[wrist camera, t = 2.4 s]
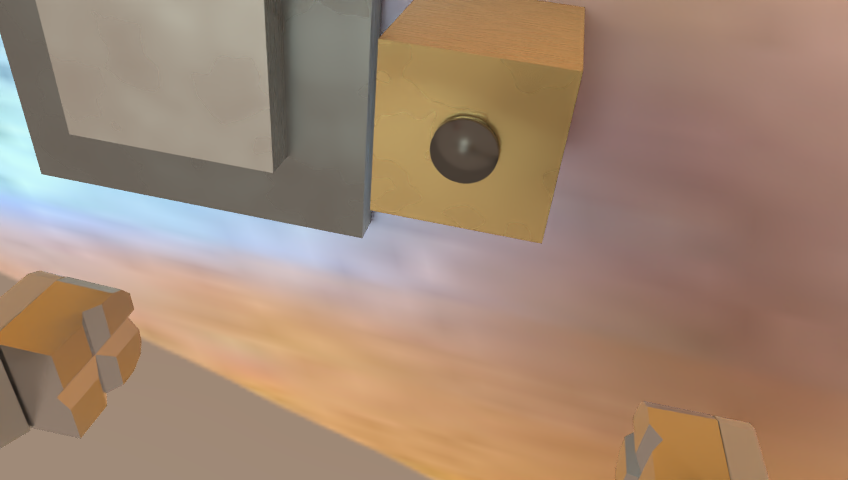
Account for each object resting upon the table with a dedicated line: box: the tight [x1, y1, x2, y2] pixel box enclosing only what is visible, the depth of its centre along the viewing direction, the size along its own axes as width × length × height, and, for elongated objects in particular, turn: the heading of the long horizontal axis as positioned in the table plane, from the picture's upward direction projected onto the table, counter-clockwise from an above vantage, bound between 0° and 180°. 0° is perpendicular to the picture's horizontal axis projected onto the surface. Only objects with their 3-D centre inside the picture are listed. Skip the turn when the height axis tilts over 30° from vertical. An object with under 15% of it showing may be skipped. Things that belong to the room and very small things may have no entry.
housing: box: [370, 0, 585, 243], centre depth 19 cm, size 5×5×6 cm
